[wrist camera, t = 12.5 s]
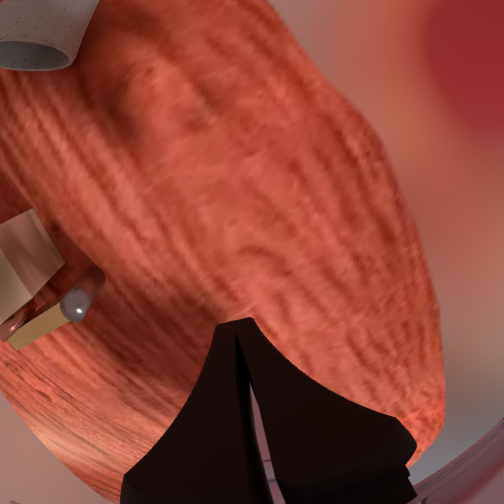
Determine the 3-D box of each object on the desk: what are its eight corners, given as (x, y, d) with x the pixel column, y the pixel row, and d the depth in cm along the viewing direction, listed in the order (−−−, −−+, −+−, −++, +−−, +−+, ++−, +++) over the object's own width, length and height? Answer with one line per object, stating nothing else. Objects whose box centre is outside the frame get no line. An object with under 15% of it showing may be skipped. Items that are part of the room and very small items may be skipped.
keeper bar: (37, 324, 19) (15, 355, 14) (25, 308, 18) (2, 338, 14) (109, 282, 19) (89, 316, 14) (96, 262, 18) (72, 292, 14)
